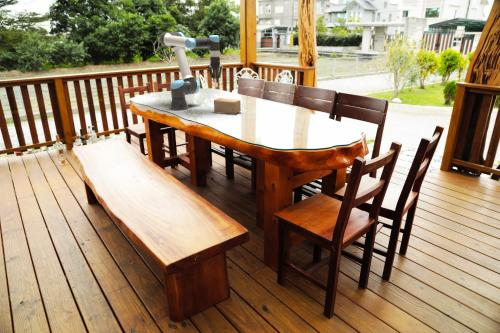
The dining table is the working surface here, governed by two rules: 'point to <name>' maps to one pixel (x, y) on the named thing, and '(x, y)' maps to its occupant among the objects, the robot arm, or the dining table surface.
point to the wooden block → (227, 105)
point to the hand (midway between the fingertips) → (216, 86)
